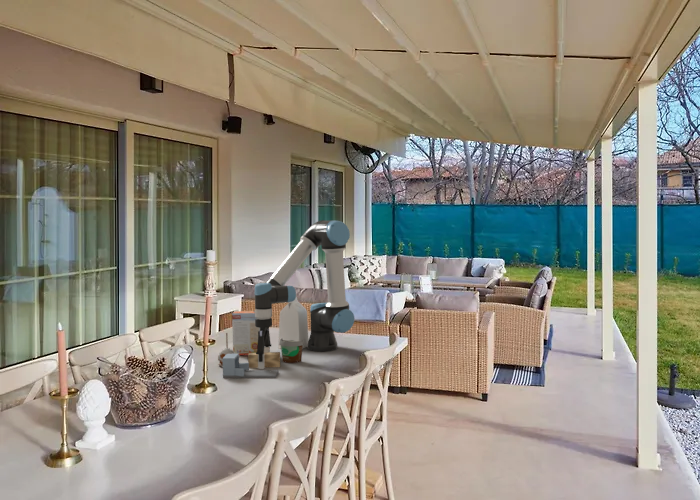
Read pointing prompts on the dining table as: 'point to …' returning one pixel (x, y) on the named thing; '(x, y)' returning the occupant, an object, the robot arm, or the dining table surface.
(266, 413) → the dining table surface
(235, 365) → the board
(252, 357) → the oak slat
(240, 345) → the cracker box
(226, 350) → the decorative ornament
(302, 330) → the milk
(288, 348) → the food container
